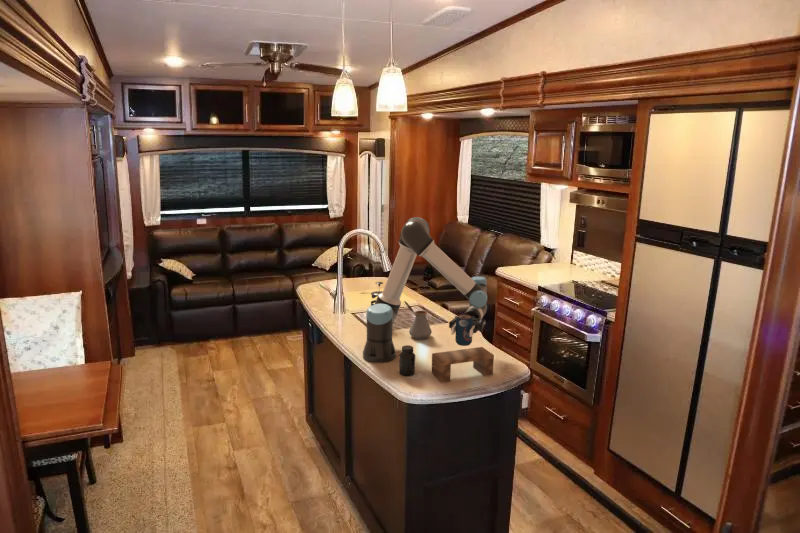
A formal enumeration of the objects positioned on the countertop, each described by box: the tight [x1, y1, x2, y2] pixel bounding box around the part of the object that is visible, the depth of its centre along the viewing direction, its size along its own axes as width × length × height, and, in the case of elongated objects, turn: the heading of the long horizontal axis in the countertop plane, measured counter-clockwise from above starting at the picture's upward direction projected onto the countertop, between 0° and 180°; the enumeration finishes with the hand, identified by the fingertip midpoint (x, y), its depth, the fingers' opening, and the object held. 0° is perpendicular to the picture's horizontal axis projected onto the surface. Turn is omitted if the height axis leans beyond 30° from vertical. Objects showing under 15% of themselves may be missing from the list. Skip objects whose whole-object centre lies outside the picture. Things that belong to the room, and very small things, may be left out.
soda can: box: [454, 313, 473, 347], centre depth 228 cm, size 7×7×12 cm
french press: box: [370, 281, 384, 306], centre depth 294 cm, size 12×9×23 cm
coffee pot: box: [402, 301, 433, 340], centre depth 279 cm, size 21×12×15 cm, turn 32°
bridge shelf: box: [431, 346, 495, 384], centre depth 231 cm, size 24×10×9 cm, turn 111°
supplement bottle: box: [398, 344, 416, 378], centre depth 230 cm, size 7×7×12 cm
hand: (461, 332), depth 223 cm, fingers closed on soda can, 7 cm apart
